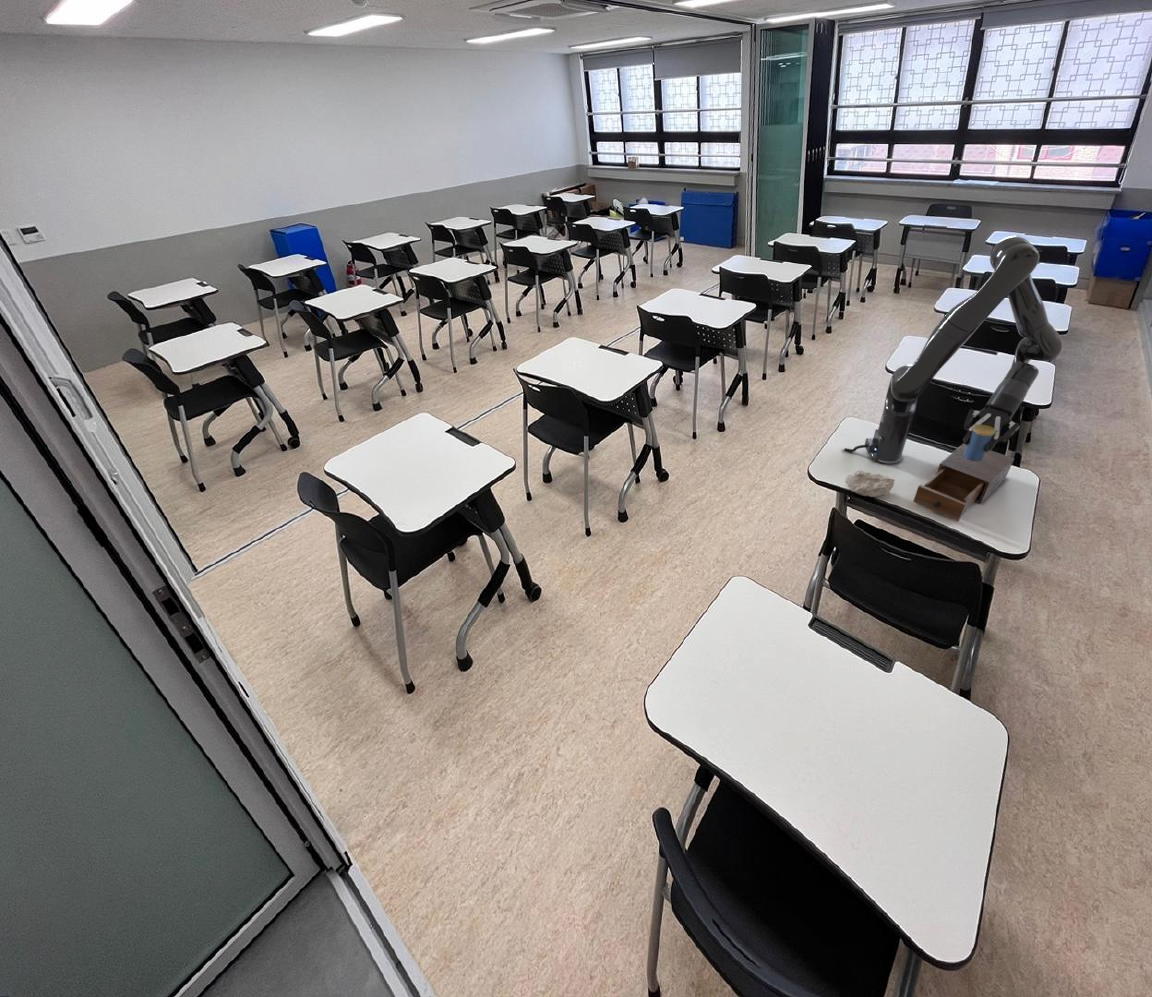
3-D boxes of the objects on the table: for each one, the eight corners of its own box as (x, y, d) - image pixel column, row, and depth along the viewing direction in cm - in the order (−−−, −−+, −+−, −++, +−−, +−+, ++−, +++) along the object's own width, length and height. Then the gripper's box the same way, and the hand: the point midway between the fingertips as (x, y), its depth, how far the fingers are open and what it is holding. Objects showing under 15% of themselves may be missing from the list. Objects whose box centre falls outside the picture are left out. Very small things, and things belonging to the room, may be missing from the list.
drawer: (956, 523, 170) (963, 507, 167) (911, 503, 179) (916, 487, 175) (982, 497, 178) (990, 480, 175) (938, 479, 187) (944, 463, 183)
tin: (978, 464, 173) (990, 436, 166) (959, 457, 176) (970, 429, 170) (987, 456, 175) (998, 428, 169) (968, 449, 179) (978, 422, 172)
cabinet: (980, 503, 178) (989, 482, 173) (932, 483, 187) (939, 463, 182) (1005, 479, 186) (1014, 458, 181) (957, 461, 195) (965, 441, 190)
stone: (873, 509, 185) (896, 490, 178) (840, 487, 186) (862, 468, 179) (875, 496, 190) (898, 477, 183) (844, 475, 191) (865, 455, 184)
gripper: (980, 385, 172) (948, 434, 174) (1034, 400, 163) (1001, 452, 165) (982, 394, 178) (952, 442, 180) (1035, 409, 168) (1002, 460, 170)
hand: (975, 447), depth 172 cm, fingers closed on tin, 5 cm apart
